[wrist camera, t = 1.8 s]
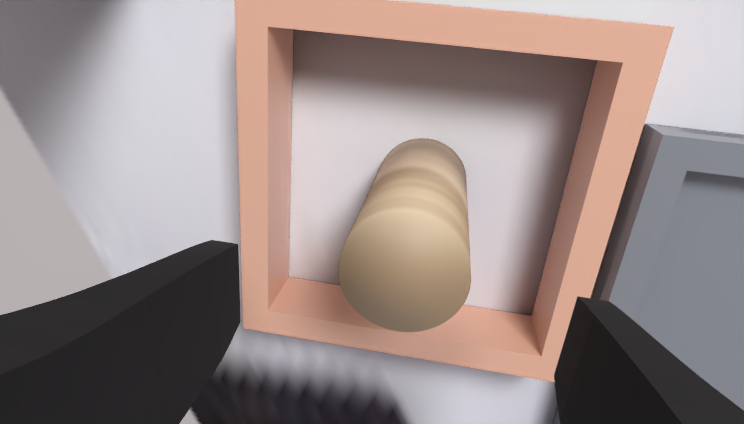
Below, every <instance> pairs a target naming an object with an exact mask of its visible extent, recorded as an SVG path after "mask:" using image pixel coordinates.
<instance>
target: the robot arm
mask: <svg viewBox="0 0 744 424" xmlns="http://www.w3.org/2000/svg"><path fill="white" fill-rule="evenodd" d="M239 323H240V292H239V258H238V244H234V243H227V242H221V241H214V240H211V241H207V242H204V243H201V244H198V245H195V246H193V247H190V248H188V249H185V250H183V251H180V252H178V253H175V254H173V255H170V256H168V257H166V258H163V259H161V260H158V261H156V262H154V263H151V264H149V265H146V266H144V267H141V268H139V269H137V270H134V271H132V272H129V273H127V274H124V275H122V276H119V277H116V278H114V279H111V280H108V281H106V282H103V283H100V284H98V285H95V286H92V287H90V288H87V289H85V290H82V291H79V292H76V293H73V294H70V295H67V296H65V297H61V298H58V299H56V300H52V301H49V302H45V303H42V304H39V305H35V306H32V307H28V308H25V309H22V310H18V311H15V312H11V313H8V314H3V315H0V424H179V423H180V422H181V420H182V419H183V417H184V416H185V414H186V413H187V411H188V410H189V408H190V407H191V405H192V404H193V403H194V401H195V400H196V398H197V397H198V395H199V394H200V392H201V391H202V389H203V388H204V386H205V385H206V383H207V382H208V380H209V379H210V377H211V376H212V374H213V373H214V371H215V370H216V368H217V366H218V365H219V363H220V362H221V360H222V358H223V356H224V355H225V353H226V351H227V349H228V347H229V345H230V343H231V341H232V338H233V336H234V334H235V332H236V330H237V328H238V326H239ZM554 380H555V389H556V398H557V406H558V413H559V420H560V424H744V410H742V409H741V408H740V407H739V406H737V405H736V404H735V403H733V402H732V401H731V400H729V399H728V398H727V397H725V396H724V395H723V394H722V393H720V392H719V391H718V390H716V389H715V388H714V387H712V386H711V385H710V384H709V383H707V382H706V381H705V380H704V379H702V378H701V377H700V376H699V375H697V374H696V373H695V372H694V371H692V370H691V369H690V368H689V367H688V366H686V365H685V364H684V363H683V362H682V361H680V360H679V359H678V358H677V357H676V356H674V355H673V354H672V353H671V352H670V351H669V350H667V349H666V348H665V347H664V346H663V345H662V344H660V343H659V342H658V341H657V340H656V339H655V338H653V337H652V336H651V335H650V334H649V333H648V332H646V331H645V330H644V329H643V328H642V327H641V326H639V325H638V324H637V323H636V322H635V321H634V320H632V319H631V318H630V317H629V316H628V315H626V314H625V313H624V312H623V311H622V310H620V309H619V308H618V307H616V306H615V305H614V304H612V303H611V302H609V301H605V300H598V299H592V298H585V297H579V296H577V300H576V303H575V306H574V310H573V313H572V316H571V320H570V323H569V326H568V330H567V333H566V337H565V340H564V343H563V347H562V350H561V353H560V357H559V360H558V363H557V367H556V370H555V373H554Z"/></svg>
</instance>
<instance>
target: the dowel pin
mask: <svg viewBox="0 0 744 424" xmlns="http://www.w3.org/2000/svg"><path fill="white" fill-rule="evenodd" d="M338 277H339V283H340V286H341V289H342V291H343V294H344V296H345V297H346V299H347V301H348V302H349V303H350V305H351V306H352V307H353V308H354V309H355V310H356V311H357V312H358V313H359V314H360V315H361V316H363V317H364V318H365V319H367V320H368V321H370V322H372V323H373V324H376V325H378V326H380V327H383V328H386V329H389V330H393V331H400V332H418V331H424V330H428V329H431V328H434V327H437V326H439V325H441V324H443V323H445V322H446V321H448V320H449V319H450V318H452V317H453V316H454V315H455V314H456V313H457V312H458V311H459V310H460V308H461V307H462V305H463V304H464V302H465V300H466V298H467V296H468V293H469V289H470V284H471V268H470V247H469V226H468V206H467V185H466V173H465V169H464V166H463V164H462V162H461V160H460V158H459V157H458V155H457V154H456V153H455V152H454V151H453V150H452V149H451V148H449V147H448V146H446V145H445V144H443V143H441V142H439V141H436V140H432V139H423V138H420V139H413V140H409V141H406V142H403V143H401V144H399V145H398V146H396V147H395V148H394V149H393V150H391V151H390V153H389V154H388V155H387V156H386V158H385V159H384V161H383V163H382V165H381V168H380V170H379V172H378V174H377V176H376V178H375V180H374V183H373V185H372V187H371V189H370V191H369V193H368V195H367V198H366V200H365V202H364V204H363V206H362V208H361V210H360V213H359V215H358V217H357V219H356V221H355V223H354V225H353V228H352V230H351V232H350V234H349V236H348V238H347V240H346V242H345V245H344V247H343V249H342V251H341V254H340V257H339V262H338Z"/></svg>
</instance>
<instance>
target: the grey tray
mask: <svg viewBox="0 0 744 424" xmlns="http://www.w3.org/2000/svg"><path fill="white" fill-rule="evenodd" d="M592 299H598V300H605V301H609V302H611V303H612V304H614V305H615V306H616V307H618V308H619V309H620V310H622V311H623V312H624V313H625V314H626V315H628V316H629V317H630V318H631V319H632V320H634V321H635V322H636V323H637V324H638V325H639V326H641V327H642V328H643V329H644V330H645V331H646V332H648V333H649V334H650V335H651V336H652V337H653V338H655V339H656V340H657V341H658V342H659V343H660V344H662V345H663V346H664V347H665V348H666V349H667V350H669V351H670V352H671V353H672V354H673V355H674V356H676V357H677V358H678V359H679V360H680V361H682V362H683V363H684V364H685V365H686V366H688V367H689V368H690V369H691V370H692V371H694V372H695V373H696V374H697V375H699V376H700V377H701V378H702V379H704V380H705V381H706V382H707V383H709V384H710V385H711V386H712V387H714V388H715V389H716V390H718V391H719V392H720V393H722V394H723V395H724V396H725V397H727V398H728V399H729V400H731V401H732V402H733V403H735V404H736V405H737V406H739V407H740V408H741V409H742V410H744V135H741V134H732V133H723V132H715V131H706V130H697V129H688V128H680V127H671V126H662V125H653V124H646V125H645V128H644V131H643V134H642V138H641V141H640V144H639V147H638V151H637V154H636V157H635V160H634V163H633V167H632V170H631V173H630V176H629V180H628V183H627V186H626V189H625V192H624V196H623V199H622V202H621V205H620V208H619V212H618V215H617V218H616V221H615V225H614V228H613V231H612V234H611V237H610V241H609V244H608V247H607V250H606V254H605V257H604V260H603V263H602V266H601V270H600V273H599V276H598V279H597V283H596V286H595V289H594V292H593V295H592ZM553 424H560V420H559V413H558V408H557V411H556V415H555V418H554V421H553Z"/></svg>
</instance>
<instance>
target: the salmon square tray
mask: <svg viewBox="0 0 744 424" xmlns="http://www.w3.org/2000/svg"><path fill="white" fill-rule="evenodd" d="M293 29H296V30H306V31H316V32H326V33H335V34H345V35H355V36H365V37H375V38H385V39H395V40H404V41H414V42H424V43H434V44H444V45H454V46H464V47H474V48H483V49H493V50H503V51H513V52H523V53H533V54H543V55H553V56H562V57H572V58H582V59H592V60H597V64H596V68H595V72H594V75H593V79H592V83H591V87H590V91H589V95H588V99H587V103H586V107H585V110H584V114H583V118H582V122H581V126H580V130H579V134H578V138H577V142H576V145H575V149H574V153H573V157H572V161H571V165H570V169H569V173H568V176H567V180H566V184H565V188H564V192H563V196H562V200H561V204H560V208H559V211H558V215H557V219H556V223H555V227H554V231H553V235H552V239H551V243H550V246H549V250H548V254H547V258H546V262H545V266H544V270H543V274H542V278H541V281H540V285H539V289H538V293H537V297H536V301H535V305H534V309H533V313H532V316H530V315H524V314H518V313H511V312H505V311H499V310H493V309H486V308H480V307H474V306H467V305H462V307H461V308H460V310H459V311H458V312H457V313H456V314H455V315H454V316H453V317H452V318H450V319H449V320H448V321H446V322H445V323H443V324H441V325H439V326H437V327H434V328H431V329H428V330H424V331H418V332H400V331H393V330H389V329H386V328H383V327H380V326H378V325H376V324H373V323H372V322H370V321H368V320H367V319H365V318H364V317H363V316H361V315H360V314H359V313H358V312H357V311H356V310H355V309H354V308H353V307H352V306H351V305H350V303H349V302H348V301H347V299H346V297H345V296H344V294H343V291H342V289H341V286H340V285H336V284H330V283H323V282H317V281H311V280H304V279H298V278H292V277H289V238H290V185H291V131H292V77H293ZM673 29H674V27H670V26H661V25H653V24H644V23H634V22H623V21H612V20H601V19H590V18H579V17H569V16H558V15H547V14H536V13H525V12H515V11H504V10H493V9H482V8H471V7H460V6H450V5H439V4H428V3H417V2H406V1H395V0H235V36H236V75H237V114H238V152H239V191H240V230H241V268H242V307H243V328H245V329H251V330H256V331H262V332H268V333H274V334H279V335H285V336H291V337H297V338H302V339H308V340H314V341H320V342H326V343H331V344H337V345H343V346H349V347H354V348H360V349H366V350H372V351H377V352H383V353H389V354H395V355H401V356H406V357H412V358H418V359H424V360H429V361H435V362H441V363H447V364H452V365H458V366H464V367H470V368H476V369H481V370H487V371H493V372H499V373H504V374H510V375H516V376H522V377H528V378H533V379H539V380H545V381H551V382H555V380H554V373H555V370H556V367H557V363H558V360H559V357H560V353H561V350H562V347H563V343H564V340H565V337H566V333H567V330H568V326H569V323H570V320H571V316H572V313H573V310H574V306H575V303H576V300H577V296H579V297H585V298H590V297H591V294H592V291H593V288H594V284H595V281H596V278H597V275H598V271H599V268H600V265H601V262H602V259H603V255H604V252H605V249H606V246H607V242H608V239H609V236H610V233H611V229H612V226H613V223H614V220H615V217H616V213H617V210H618V207H619V204H620V200H621V197H622V194H623V191H624V187H625V184H626V181H627V178H628V175H629V171H630V168H631V165H632V162H633V158H634V155H635V152H636V149H637V145H638V142H639V139H640V136H641V132H642V129H643V126H644V123H645V120H646V116H647V113H648V110H649V107H650V103H651V100H652V97H653V94H654V90H655V87H656V84H657V81H658V78H659V74H660V71H661V68H662V65H663V61H664V58H665V55H666V52H667V48H668V45H669V42H670V39H671V35H672V32H673Z"/></svg>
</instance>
